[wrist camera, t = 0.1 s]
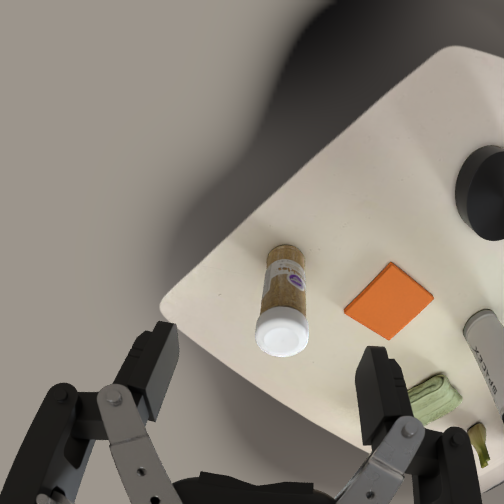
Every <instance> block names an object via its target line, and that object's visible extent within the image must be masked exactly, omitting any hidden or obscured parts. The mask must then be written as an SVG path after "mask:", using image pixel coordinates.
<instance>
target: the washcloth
mask: <svg viewBox="0 0 504 504" xmlns="http://www.w3.org/2000/svg"><path fill="white" fill-rule="evenodd" d="M408 395H409V399H410V403H411V407H412V411H413V415H414V417H415V418H417V419H418V420H420V421H421V422H422V424H423V425H424V426H425V425H427V424H429V423H430V422H432V421H434V420H436V419H438V418H440V417H443V416H444V415H445V414H448V413H449V412H451V411H453V410H454V409H456V407H457V406H459V405H460V404H461V402H462V400H463V398H462V396H461V395H460V394H459V393H458V392H457V391H456V389H454V388H453V387H451V386H450V383H449V381H448V378H447V377H446V376H444V375H437V376H434V377H433V378H431V379H430V380H428V381H426V382H425V383H423V384H421V385H419V386H417V387H413V388H411V389H410V390H408Z"/></svg>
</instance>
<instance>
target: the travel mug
mask: <svg viewBox="0 0 504 504" xmlns="http://www.w3.org/2000/svg"><path fill="white" fill-rule="evenodd" d="M464 337H465V339H466V341H467V343H468V345H469V347H470V349H471V351H472V353H473V355H474V357H475V359H476V361H477V363H478V365H479V367H480V369H481V372H482V374H483V376H484V378H485V380H486V383H487V385H488V387H489V389H490V392H491V394H492V397H493V399H494V401H495V404H496V406H497V409H498V411H499V414H500V416H501V419H502V420H503V423H504V327H503V326H502V324H501V322H500V321H499V319H498V318H497V316H496V315H495V313H494V312H493V311H491V310H482V311H480V312H478V313H476V314H475V315H474V316H472V317H471V318H470V319H469V321H468V322H467V324H466V325H465V328H464Z"/></svg>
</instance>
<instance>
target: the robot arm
mask: <svg viewBox="0 0 504 504" xmlns="http://www.w3.org/2000/svg"><path fill="white" fill-rule="evenodd" d="M178 357H179V342H178V333H177V325H176V324H174V323H168V322H162V321H158V322H157V324H156V326H155V328H154V330H153V332H150V331H144V332H143V333H142V334H141V335H140V336H138V337H137V338H136V340H135V342H134V344H133V346H132V349H130V351H129V353H128V356H127V357H126V359H125V361H124V363H123V365H122V367H121V369H120V371H119V372H118V374H117V376H116V378H115V380H114V382H113V384H110V385H107V386H105V387H104V388H102V389H101V390H100V391H99V392H77V390H76V388H75V387H74V386H72V385H71V384H68V383H59V384H56V385H54V386H53V387H52V388H50V390H49V391H48V393H47V395H46V397H45V398H44V400H43V402H42V404H41V406H40V408H39V410H38V412H37V414H36V416H35V418H34V420H33V422H32V424H31V426H30V428H29V430H28V432H27V434H26V436H25V438H24V441H23V443H22V445H21V447H20V449H19V451H18V454H17V456H16V458H15V460H14V463H13V465H12V467H11V470H10V472H9V474H8V477H7V479H6V481H5V484H4V487H3V490H2V491H1V494H0V504H75V503H74V502H75V499H76V495H77V492H78V489H79V486H80V483H81V480H82V477H83V474H84V471H85V468H86V465H87V463H88V460H89V457H90V454H91V452H92V448H93V446H94V443H95V441H96V440H109V442H110V445H109V447H110V451H111V454H112V457H113V459H114V462H115V465H116V468H117V470H118V473H119V475H120V477H121V481H122V483H123V485H124V488H125V490H126V493H127V495H128V497H129V499H130V502H131V504H389V503H390V501H391V500H392V498H393V497H394V495H395V493H396V492H397V490H398V489H399V487H400V485H401V484H402V482H403V480H404V476H403V475H404V473H407V474H411V475H412V480H413V495H414V504H482V500H481V493H480V486H479V480H478V475H477V470H476V465H475V460H474V455H473V450H472V446H471V442H470V438H469V435H468V434H467V432H466V431H465V430H463V429H462V428H460V427H450V428H448V429H447V430H446V431H445V432H444V433H442V432H438V431H433V430H429V429H426V428H424V425H423V424H422V422H421V421H420V420H418V419H417V418H415V417H414V415H413V411H412V407H411V403H410V399H409V395H408V391H407V388H406V384H405V380H404V377H403V373H402V370H401V367H400V366H399V365H398V363H397V362H396V361H395V359H388V355H387V351H386V348H385V347H379V346H367V347H366V349H365V351H364V354H363V356H362V358H361V361H360V363H359V365H358V368H357V370H356V375H355V385H356V392H357V399H358V407H359V415H360V423H361V432H362V441H363V445H371V446H372V452H371V453H370V454H369V456H368V457H367V459H366V460H365V461H364V463H363V464H362V466H361V467H360V468H359V469H358V471H357V472H356V473H355V475H354V476H353V477H352V478H351V480H350V481H349V482H348V483H347V485H346V486H345V487H344V488H343V489H342V490H341V491H340V493H339V494H338V495H337V496H336V497H335V498H332V497H331V496H329V495H328V494H326V493H323V492H321V491H318V490H315V489H313V483H299V482H282V483H275V484H268V485H260V486H256V485H252V484H249V483H246V482H243V481H241V480H238V479H235V478H233V477H230V476H226V475H219V474H213V473H208V472H202V471H201V472H200V476H199V477H193V478H187V479H183V480H180V481H177V482H175V483H171V481H170V479H169V477H168V475H167V473H166V471H165V469H164V467H163V465H162V463H161V461H160V459H159V457H158V455H157V453H156V451H155V448H154V446H153V444H152V442H151V439H150V437H149V435H148V433H147V431H146V429H145V426H146V423H147V420H149V421H154V422H156V419H157V416H158V413H159V411H160V408H161V405H162V402H163V400H164V397H165V394H166V392H167V389H168V386H169V383H170V381H171V378H172V375H173V372H174V370H175V367H176V365H177V362H178Z"/></svg>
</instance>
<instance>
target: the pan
mask: <svg viewBox="0 0 504 504" xmlns="http://www.w3.org/2000/svg"><path fill="white" fill-rule="evenodd" d="M455 199H456V205H457V209H458V212H459V214H460V216H461V218H462V219H463V221H464V222H465V223H466V224H467V225H468V226H469V227H470V228H471V229H472V230H473V231H475V232H476V233H477V234H478V235H479V236H480V237H482V238H483V239H486V240H489V241H498V240H502V239H504V149H503V148H501V147H498V146H485V147H482V148H480V149H478V150H476V151H475V152H473V153H472V154H471V155H470V156H469V157H468V159H467V160H466V161H465V163H464V164H463V166H462V168H461V170H460V172H459V175H458V178H457V182H456V190H455Z"/></svg>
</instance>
